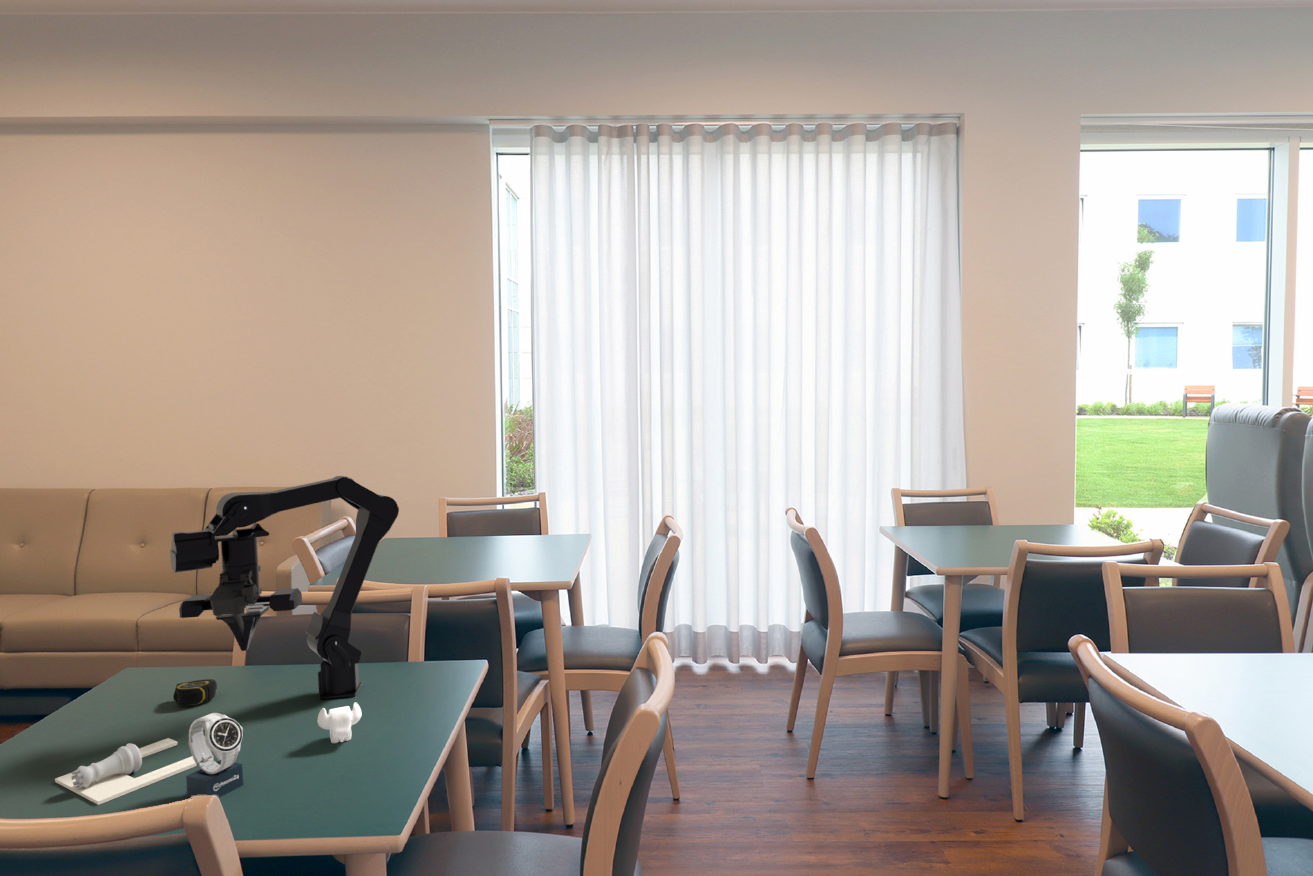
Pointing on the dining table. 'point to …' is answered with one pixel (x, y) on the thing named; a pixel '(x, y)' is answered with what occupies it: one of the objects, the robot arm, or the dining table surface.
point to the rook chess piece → (109, 766)
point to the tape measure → (195, 692)
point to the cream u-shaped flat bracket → (128, 777)
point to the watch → (225, 745)
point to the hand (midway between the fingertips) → (244, 650)
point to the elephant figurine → (339, 721)
